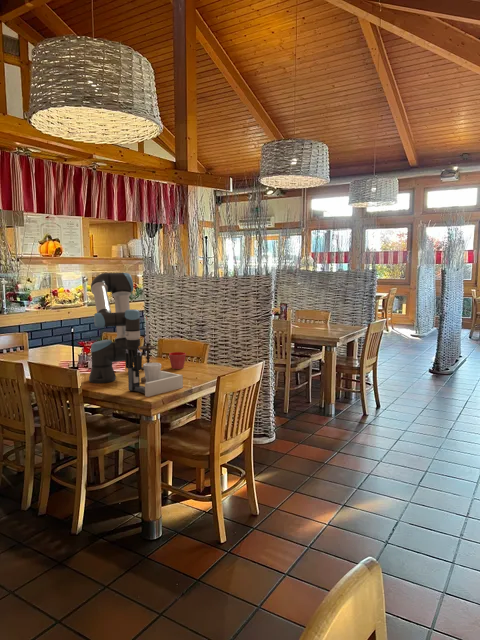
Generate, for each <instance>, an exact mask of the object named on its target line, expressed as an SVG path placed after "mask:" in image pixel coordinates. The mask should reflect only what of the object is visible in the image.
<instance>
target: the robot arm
mask: <svg viewBox="0 0 480 640" xmlns="http://www.w3.org/2000/svg"><path fill="white" fill-rule="evenodd" d="M134 288H135V287H134V281H133V278H132V275H131V274H130V273H128V272H103V273H102V272H101V273H100V274H98V275H96V276H95V277H94V278H93V280H92V281H91V284H90V291H91V294H92V295H93V299H94V303H95V310H96V313H94V315H93V316H94V317H93V320H94V321H93V322H94V326H95V327H96V328H106V327H107V328H108V327H116V337H115V338H114V341H112V340H111V339H103V340H98V341H94V342H92V344H91V346H90V352H91V369H90V373H89V376H88V382H89V381H90V382H89V383H93V384H106V383H112V382H115V381H116V378H117V377H116V373H115V371H114V368H113V363H117V362H124V363H125V368H126V369H128V368H130V367H134V370H133V375H134V383H138V382H139V380H140V371H141V370H142V367H143V361H142V360H143V354H144V353H143V351H140V349H139V347H141V329H140V328H141V327H140V323H141V321H140V317H141V316H140V310H138V309H131V307H130V296H131V295H132V292H134ZM108 293H111V296H112V297H113V299H114V310H115V311H114V312H112V310H111V305H110V300H109V295H108Z"/></svg>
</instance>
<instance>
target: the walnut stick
mask: <svg viewBox="0 0 480 640" xmlns="http://www.w3.org/2000/svg"><path fill="white" fill-rule="evenodd" d="M140 383H141V384H145V383H146V378H145V375H144V376H142V377H140Z"/></svg>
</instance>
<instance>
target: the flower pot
mask: <svg viewBox="0 0 480 640" xmlns="http://www.w3.org/2000/svg"><path fill="white" fill-rule="evenodd" d="M186 355H187V353H186V352H184V351H183V352H181V351H176V352H175V351H173V352H169V354H168V357H169V361H170V366H171V369H172V370H179V369H181V370H182V369H184V368H185V367H184V366H185V362H186Z"/></svg>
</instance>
